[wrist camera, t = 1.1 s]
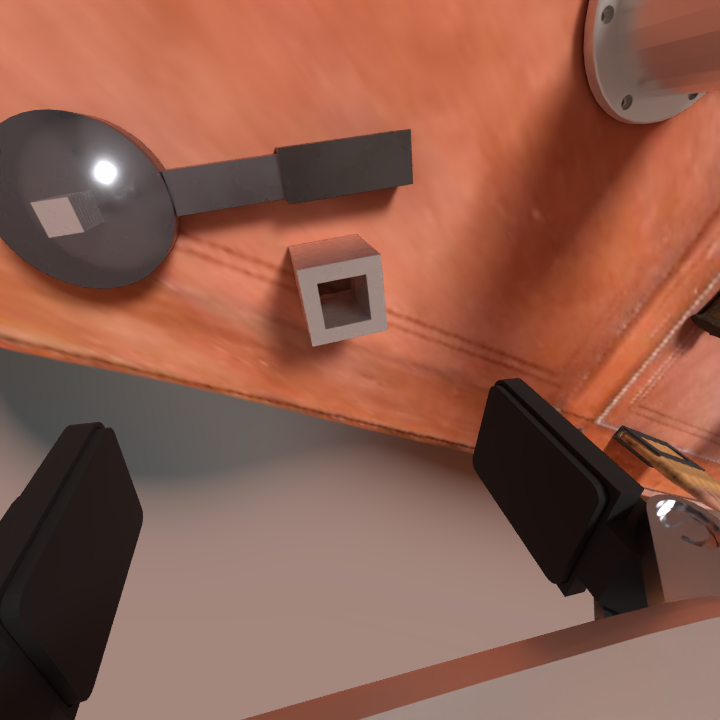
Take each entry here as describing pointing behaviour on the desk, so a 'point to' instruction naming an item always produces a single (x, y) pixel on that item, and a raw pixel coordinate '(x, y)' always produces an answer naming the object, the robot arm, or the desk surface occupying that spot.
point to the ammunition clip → (672, 465)
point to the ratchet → (153, 190)
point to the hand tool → (710, 319)
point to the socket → (344, 308)
